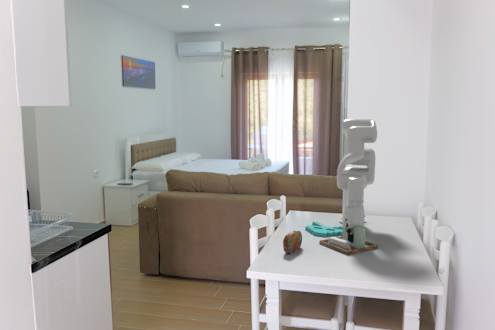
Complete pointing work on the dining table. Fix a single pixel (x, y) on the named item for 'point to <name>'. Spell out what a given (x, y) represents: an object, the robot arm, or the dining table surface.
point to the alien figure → (323, 230)
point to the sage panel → (356, 236)
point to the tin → (292, 241)
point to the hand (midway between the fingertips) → (353, 241)
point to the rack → (353, 249)
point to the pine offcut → (342, 247)
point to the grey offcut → (339, 242)
